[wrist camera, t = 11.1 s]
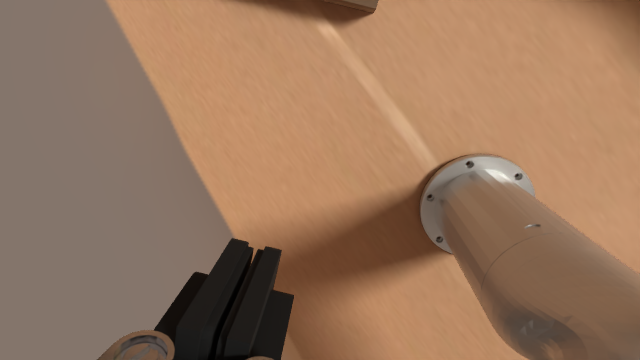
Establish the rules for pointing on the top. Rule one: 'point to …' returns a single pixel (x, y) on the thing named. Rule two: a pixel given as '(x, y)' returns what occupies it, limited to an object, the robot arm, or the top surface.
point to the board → (357, 4)
